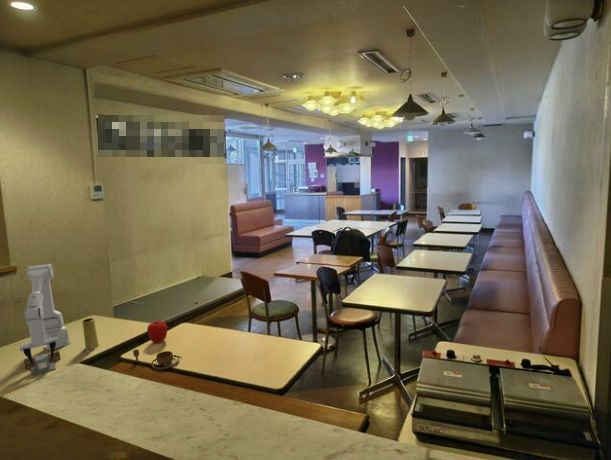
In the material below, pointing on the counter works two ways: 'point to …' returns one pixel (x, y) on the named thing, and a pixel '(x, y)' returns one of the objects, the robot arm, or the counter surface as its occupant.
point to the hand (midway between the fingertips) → (42, 361)
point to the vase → (90, 333)
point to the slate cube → (42, 362)
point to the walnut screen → (27, 362)
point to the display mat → (52, 367)
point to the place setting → (160, 359)
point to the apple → (157, 331)
